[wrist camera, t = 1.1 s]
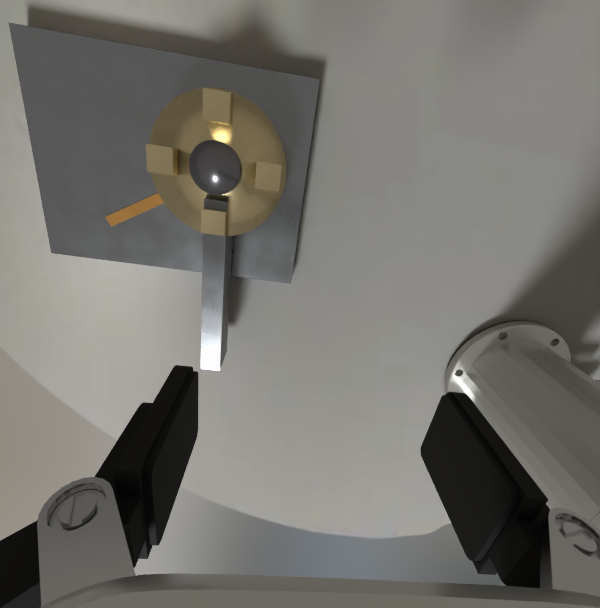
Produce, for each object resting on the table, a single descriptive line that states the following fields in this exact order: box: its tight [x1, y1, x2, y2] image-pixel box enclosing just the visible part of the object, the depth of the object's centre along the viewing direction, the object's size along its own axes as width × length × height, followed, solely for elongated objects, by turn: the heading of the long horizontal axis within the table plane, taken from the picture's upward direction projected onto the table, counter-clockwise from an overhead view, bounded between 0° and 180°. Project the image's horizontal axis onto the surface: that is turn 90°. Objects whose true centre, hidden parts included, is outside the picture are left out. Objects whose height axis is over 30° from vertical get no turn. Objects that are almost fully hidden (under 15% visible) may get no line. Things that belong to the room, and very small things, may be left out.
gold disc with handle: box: [146, 87, 287, 371], centre depth 24 cm, size 9×20×4 cm, turn 172°
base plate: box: [9, 23, 320, 284], centre depth 24 cm, size 20×15×2 cm
